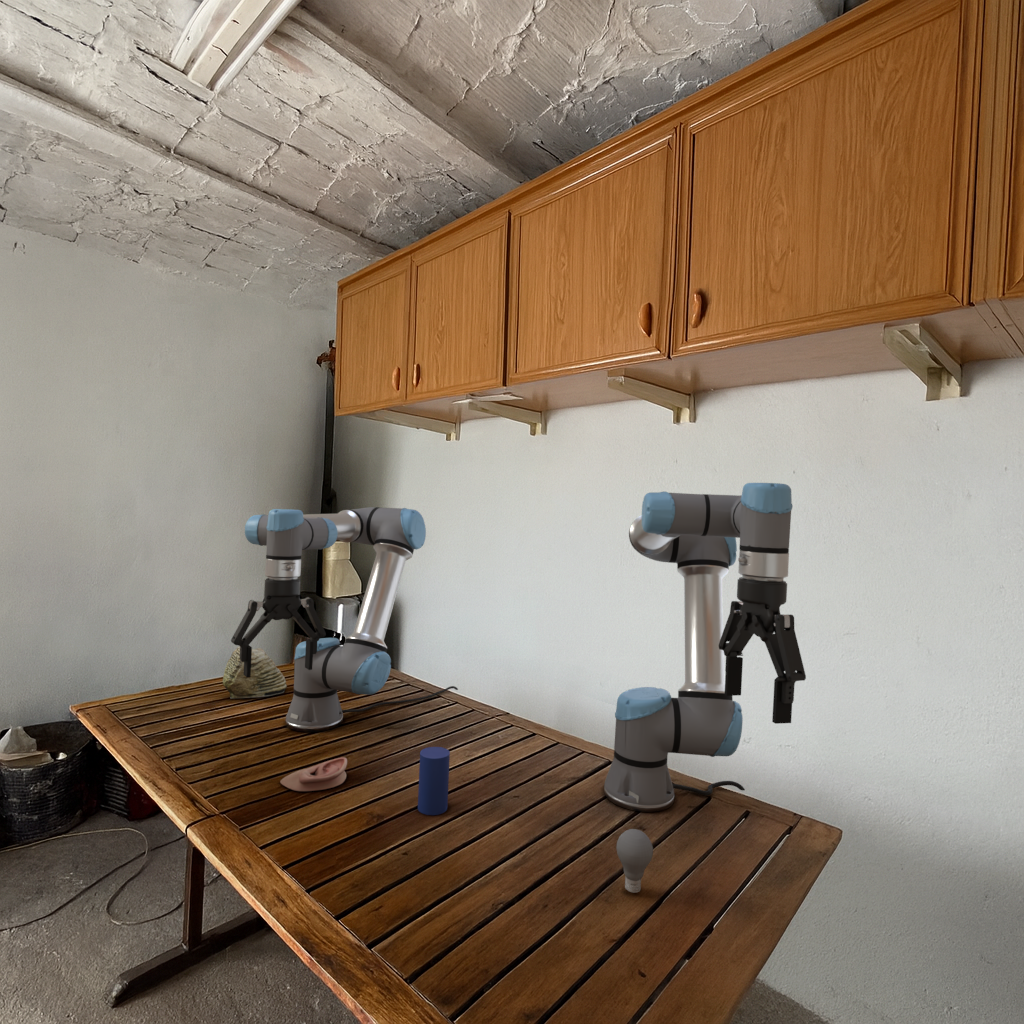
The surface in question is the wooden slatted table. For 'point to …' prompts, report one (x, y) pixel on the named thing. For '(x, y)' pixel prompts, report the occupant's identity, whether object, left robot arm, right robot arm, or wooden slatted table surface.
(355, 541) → the left robot arm
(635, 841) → the light bulb
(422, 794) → the canister
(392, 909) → the wooden slatted table surface
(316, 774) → the anatomical model
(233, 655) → the fossil
